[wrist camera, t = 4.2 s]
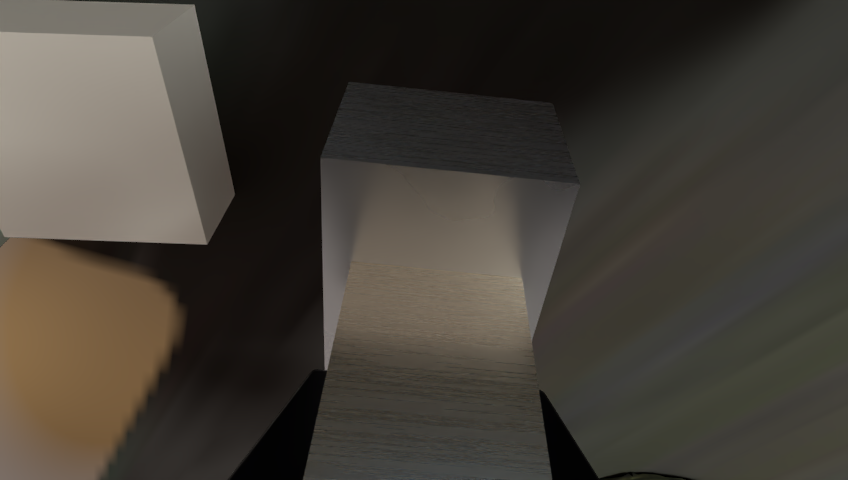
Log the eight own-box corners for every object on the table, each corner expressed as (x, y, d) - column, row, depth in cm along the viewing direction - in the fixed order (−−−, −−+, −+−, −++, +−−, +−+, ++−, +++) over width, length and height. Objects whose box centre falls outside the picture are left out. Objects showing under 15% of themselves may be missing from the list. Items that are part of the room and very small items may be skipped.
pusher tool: (552, 102, 11) (808, 851, 3) (492, 343, 15) (536, 918, 7) (348, 81, 11) (80, 799, 3) (345, 330, 15) (230, 898, 7)
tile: (198, 1, 15) (151, 37, 13) (237, 189, 19) (207, 244, 17) (-21, -6, 15) (-108, 28, 13) (60, 183, 19) (4, 236, 17)
